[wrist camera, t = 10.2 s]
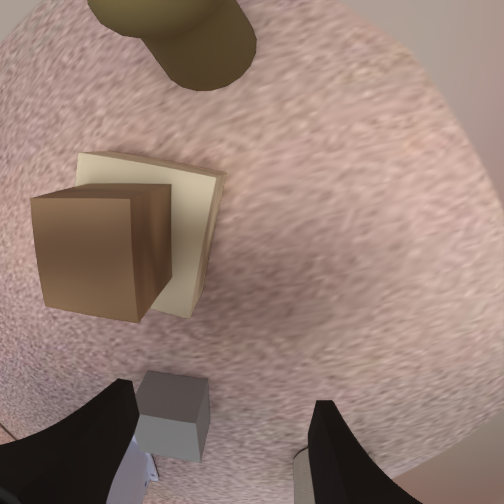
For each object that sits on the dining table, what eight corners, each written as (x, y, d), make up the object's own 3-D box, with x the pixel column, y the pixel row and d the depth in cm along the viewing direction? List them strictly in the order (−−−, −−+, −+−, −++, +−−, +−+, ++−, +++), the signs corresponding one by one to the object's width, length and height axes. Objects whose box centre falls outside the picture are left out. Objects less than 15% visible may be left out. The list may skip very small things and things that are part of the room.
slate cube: (210, 419, 25) (200, 462, 20) (156, 411, 25) (139, 451, 21) (208, 378, 24) (195, 423, 19) (148, 370, 24) (127, 411, 19)
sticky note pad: (203, 290, 22) (189, 319, 18) (99, 261, 21) (70, 282, 18) (227, 172, 19) (216, 177, 15) (111, 150, 19) (79, 152, 15)
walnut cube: (172, 277, 17) (138, 323, 12) (93, 269, 17) (45, 306, 12) (171, 184, 15) (130, 199, 11) (87, 183, 16) (30, 198, 11)
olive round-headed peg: (143, 70, 17) (32, 16, 6) (191, -5, 15) (127, -104, 5) (225, 107, 17) (166, 56, 7) (274, 28, 16) (275, -84, 5)
